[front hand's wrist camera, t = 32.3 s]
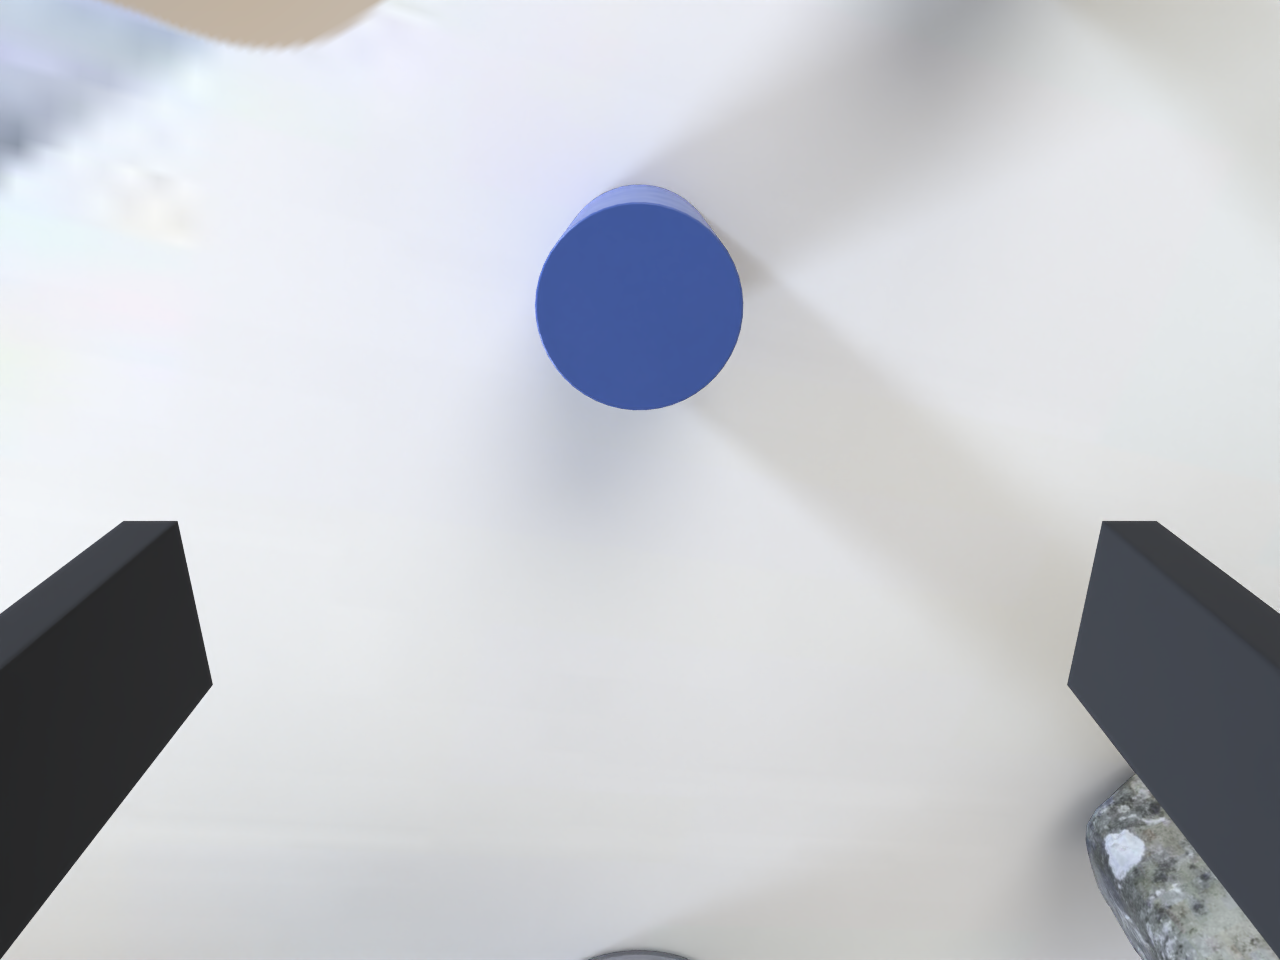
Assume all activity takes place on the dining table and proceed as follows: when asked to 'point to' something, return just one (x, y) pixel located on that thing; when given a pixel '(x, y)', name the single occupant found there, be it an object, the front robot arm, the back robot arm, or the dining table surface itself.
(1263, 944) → the concrete block
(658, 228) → the canister
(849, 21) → the dining table surface
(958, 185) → the dining table surface
